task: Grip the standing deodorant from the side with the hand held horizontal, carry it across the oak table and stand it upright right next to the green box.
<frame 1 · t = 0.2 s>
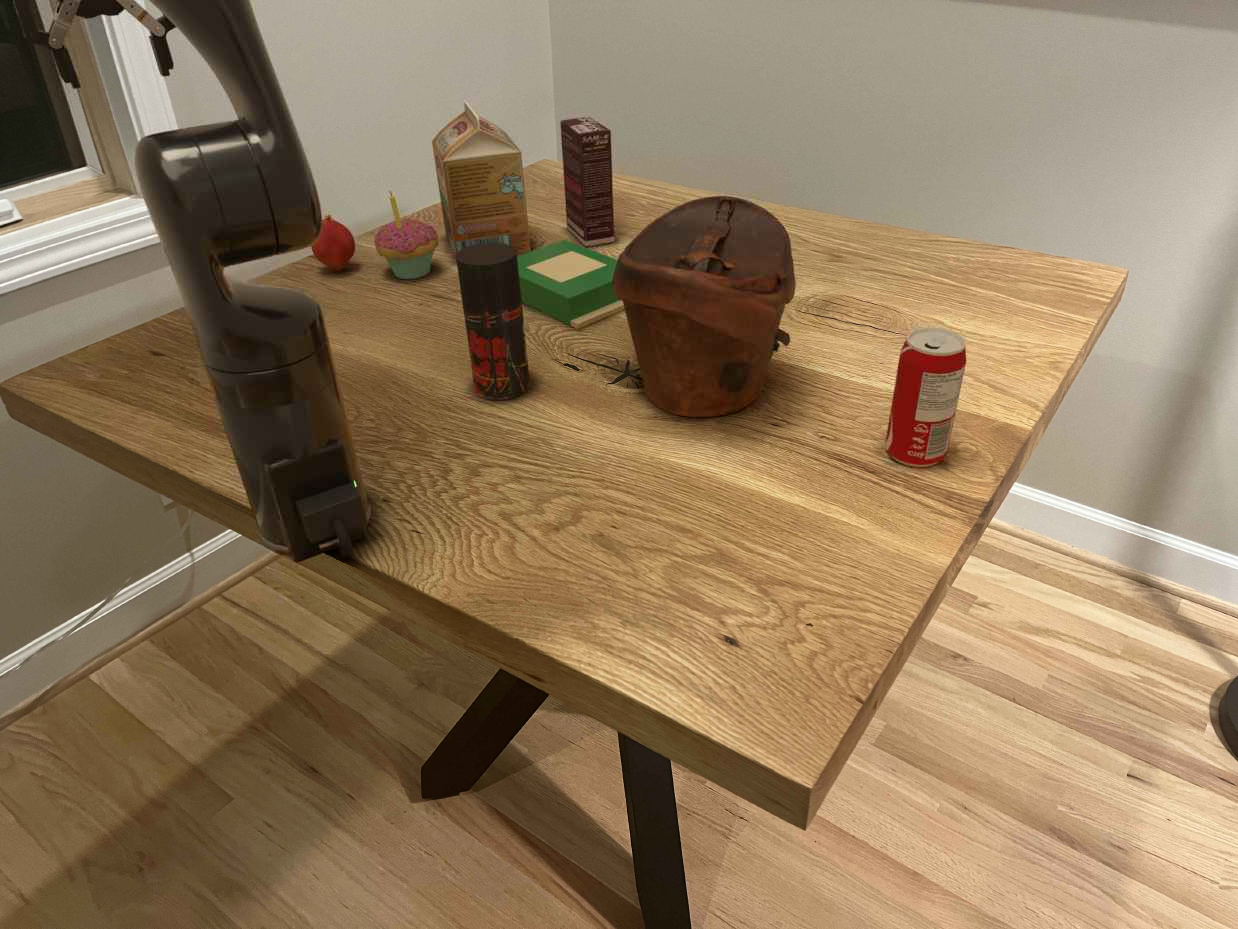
hand: (122, 81, 93), 29 cm above the table, tool pointing down, fingers open, 8 cm apart
case: (702, 391, 95), on the table
cupcake: (411, 273, 124), on the table
onion: (339, 271, 126), on the table
milk carton: (487, 246, 132), on the table
deodorant: (502, 388, 97), on the table
soda can: (914, 454, 84), on the table
supplement box: (590, 236, 133), on the table
green box: (568, 293, 117), on the table
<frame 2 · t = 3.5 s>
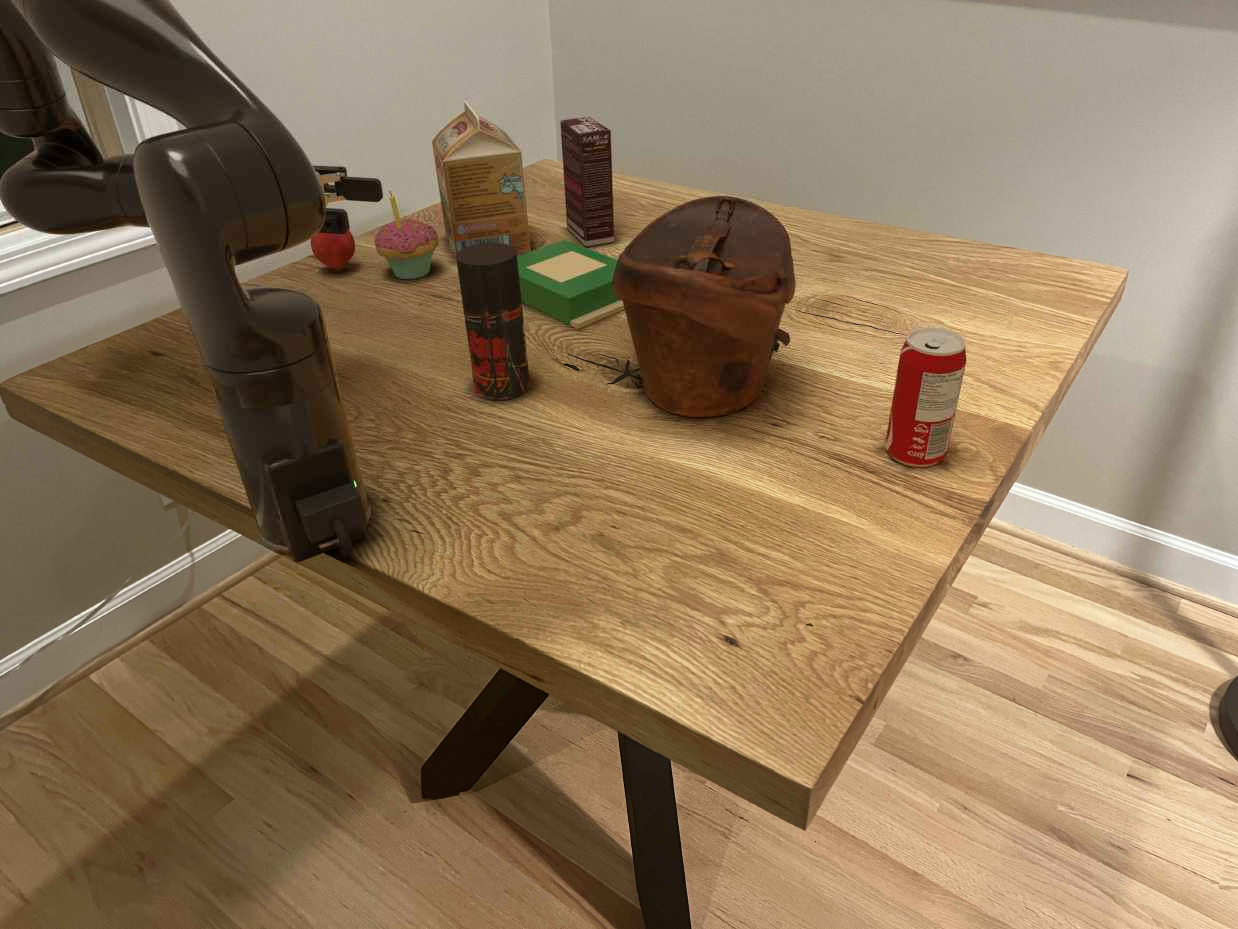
hand: (364, 205, 87), 20 cm above the table, tool horizontal, fingers open, 8 cm apart
nothing on the table moved.
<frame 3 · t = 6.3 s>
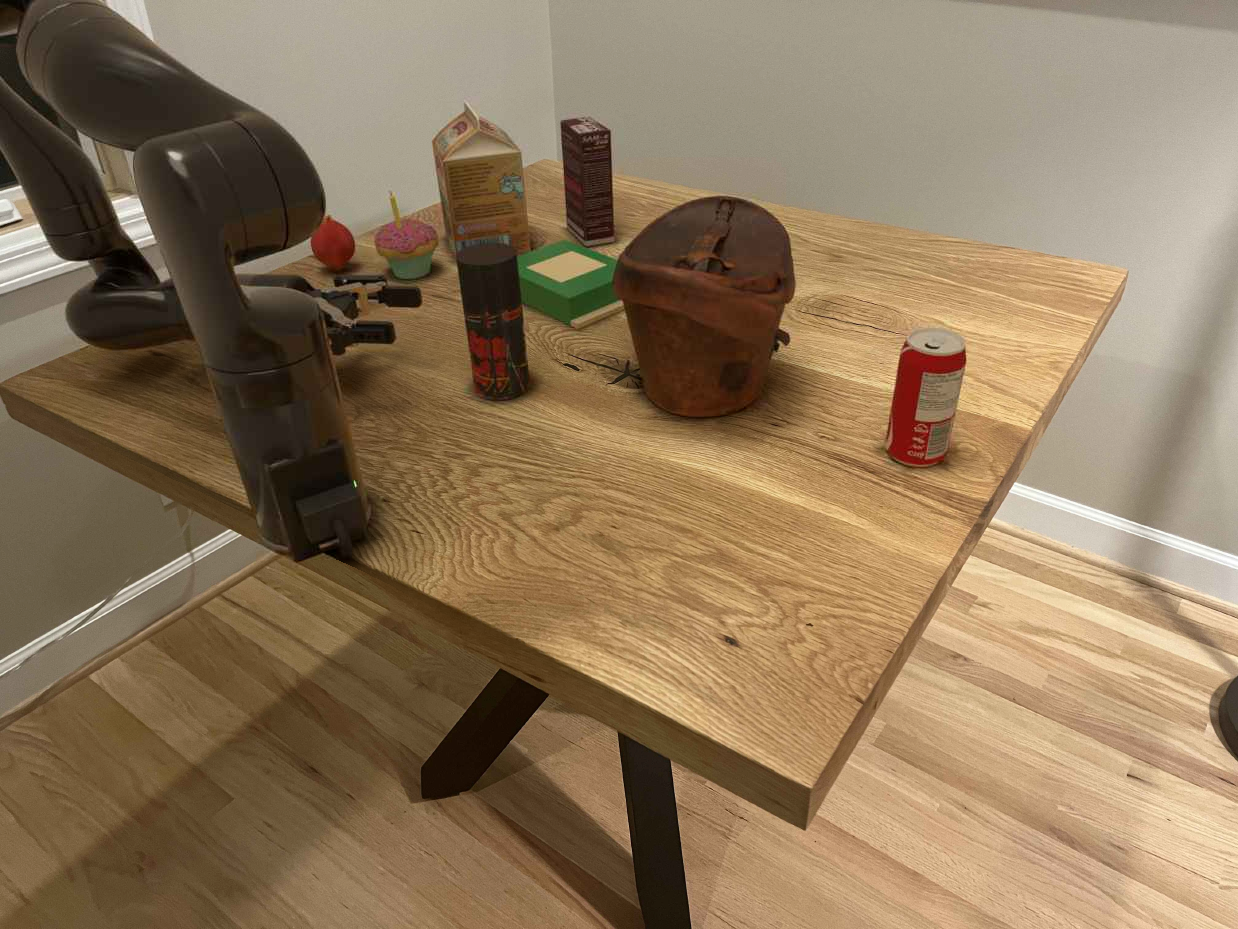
hand: (407, 314, 93), 8 cm above the table, tool horizontal, fingers open, 8 cm apart
nothing on the table moved.
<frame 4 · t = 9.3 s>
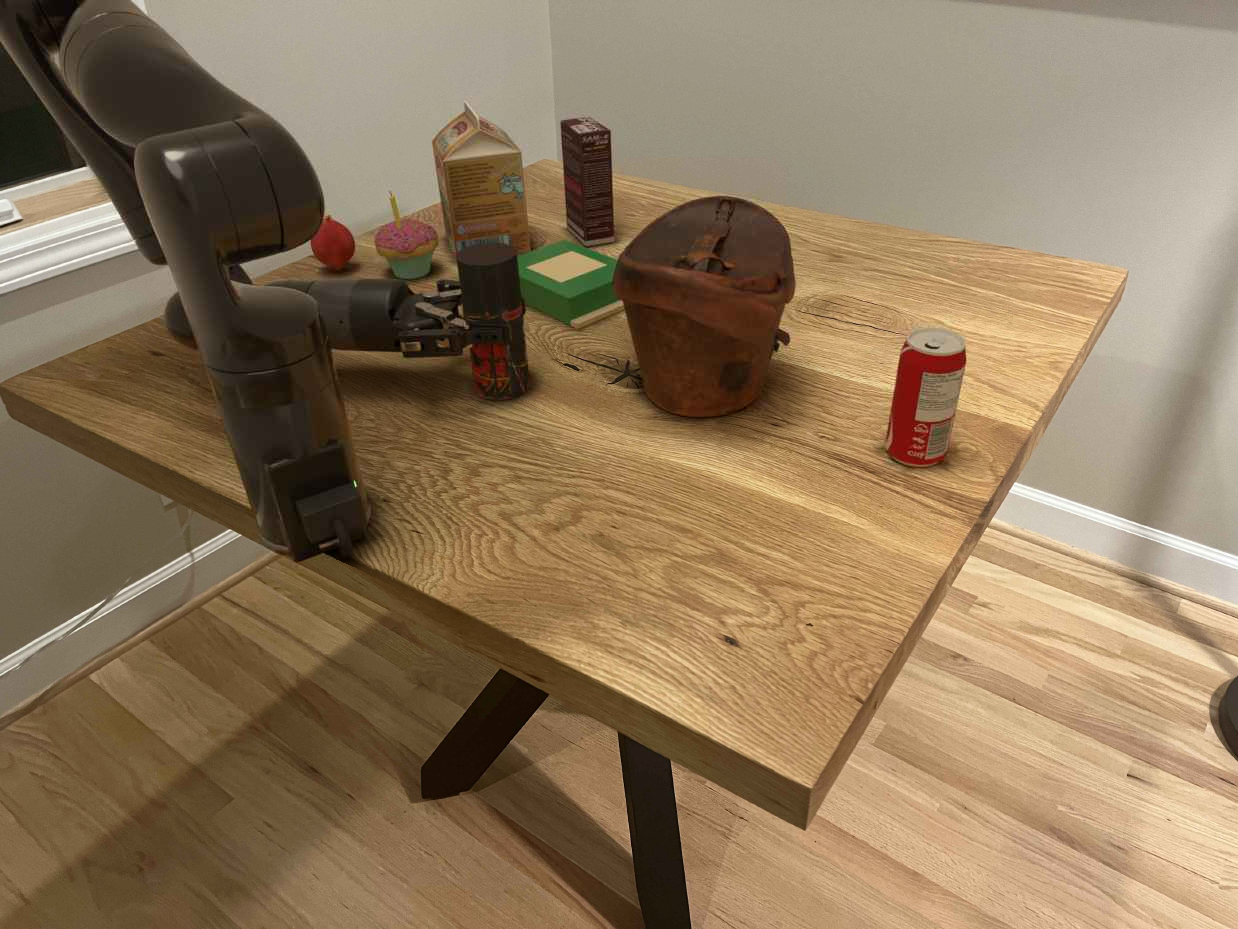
hand: (517, 319, 92), 8 cm above the table, tool horizontal, fingers closed on deodorant, 6 cm apart
deodorant: (502, 388, 97), on the table, touching gripper
everything else where it was.
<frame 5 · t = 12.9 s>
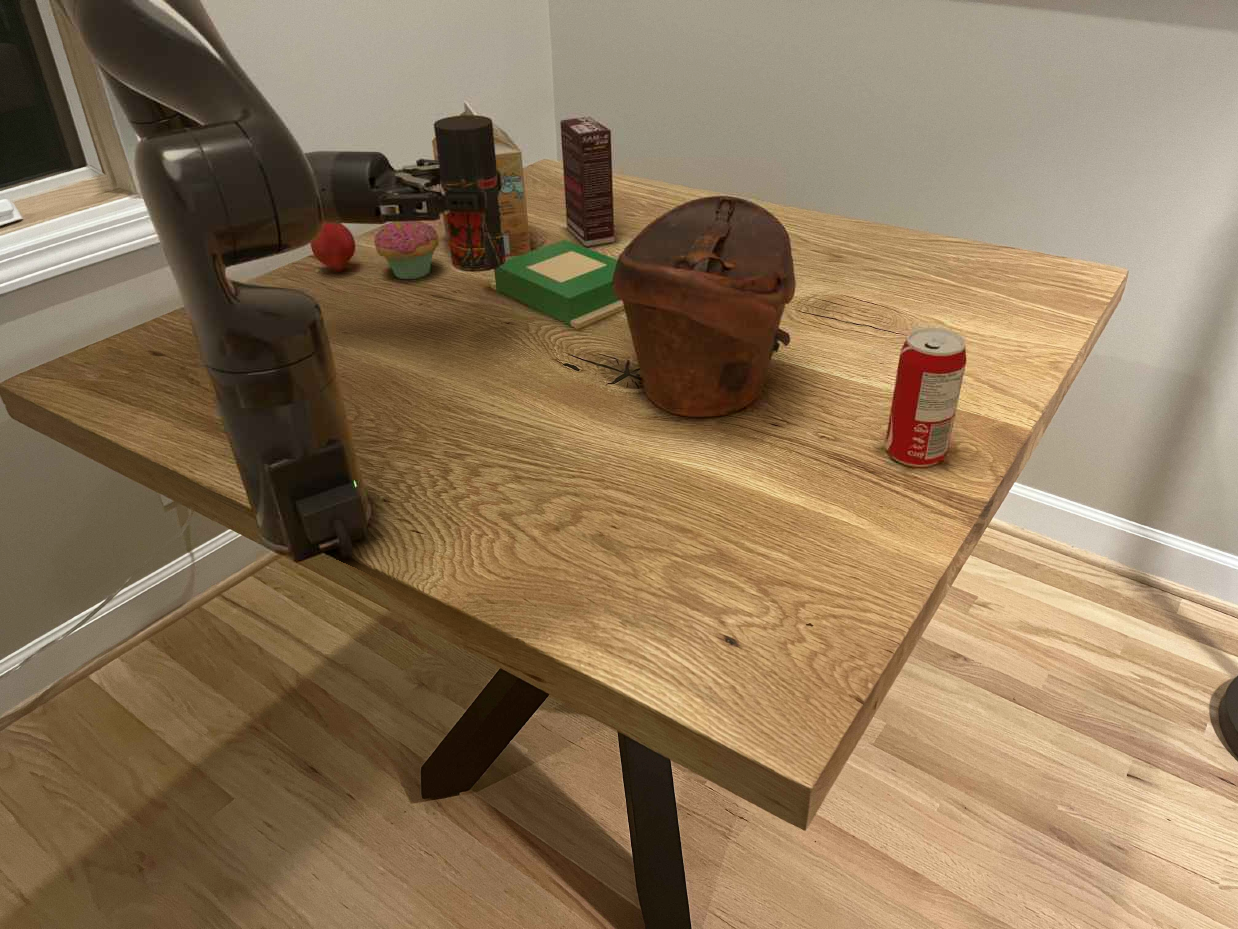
hand: (493, 190, 96), 18 cm above the table, tool horizontal, fingers closed on deodorant, 6 cm apart
deodorant: (479, 263, 101), point 9 cm above the table, touching gripper
everything else where it was.
when the fingers open (8 cm above the table, at t = 16.5 s): deodorant stays where it is, on the table.
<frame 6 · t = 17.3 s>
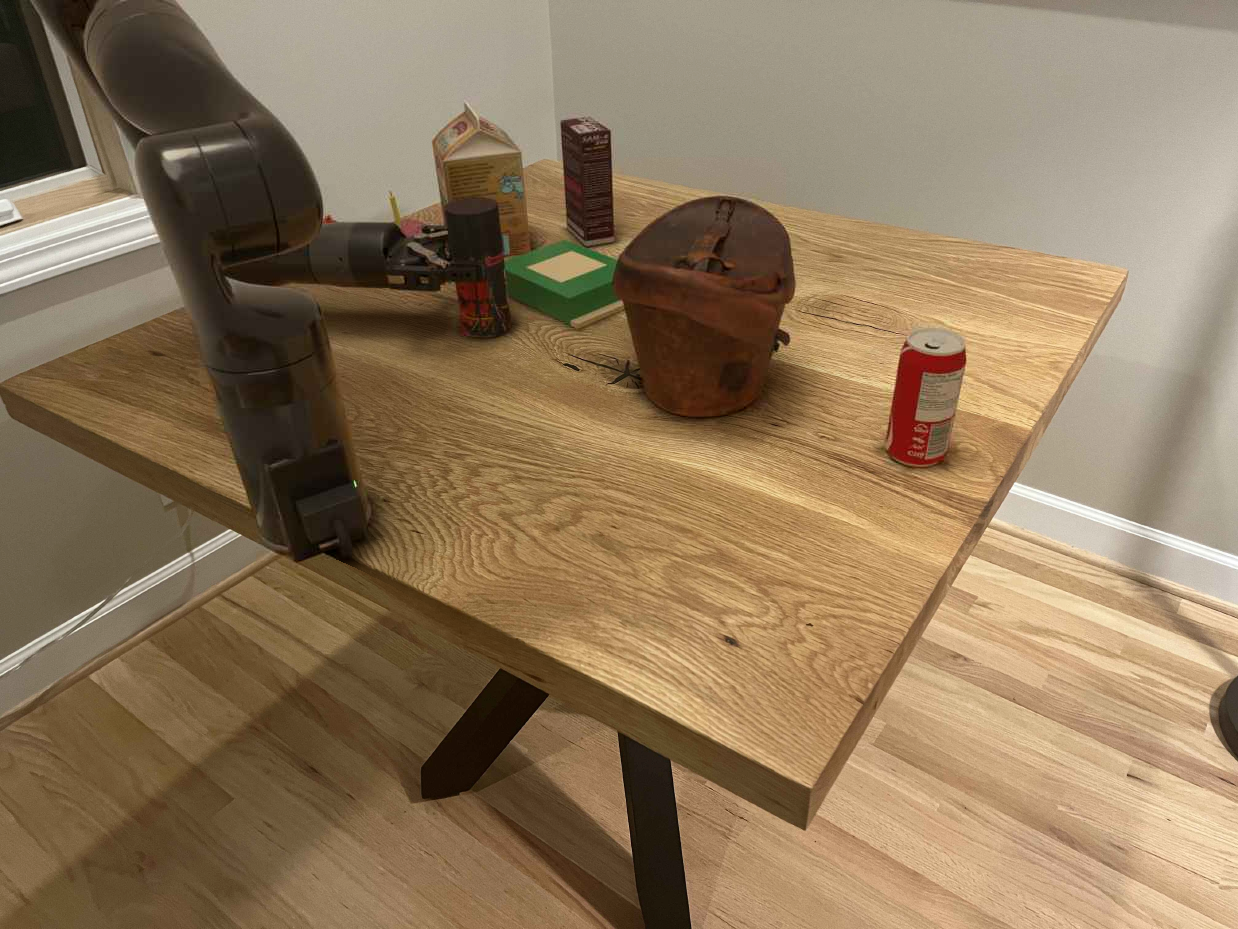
hand: (493, 257, 104), 9 cm above the table, tool horizontal, fingers open, 8 cm apart
deodorant: (487, 329, 109), on the table
everything else where it was.
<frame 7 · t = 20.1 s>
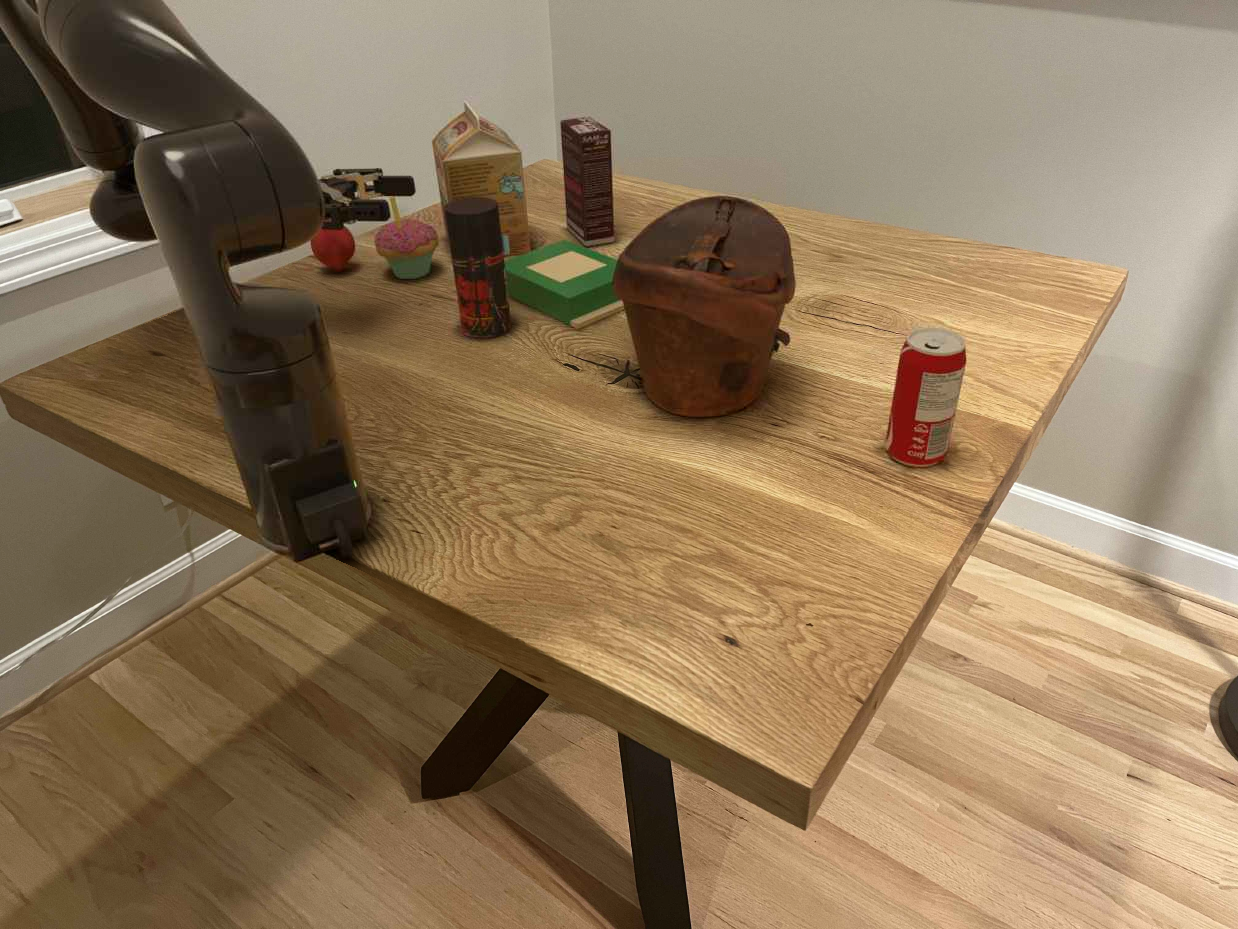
hand: (401, 197, 101), 16 cm above the table, tool horizontal, fingers open, 8 cm apart
nothing on the table moved.
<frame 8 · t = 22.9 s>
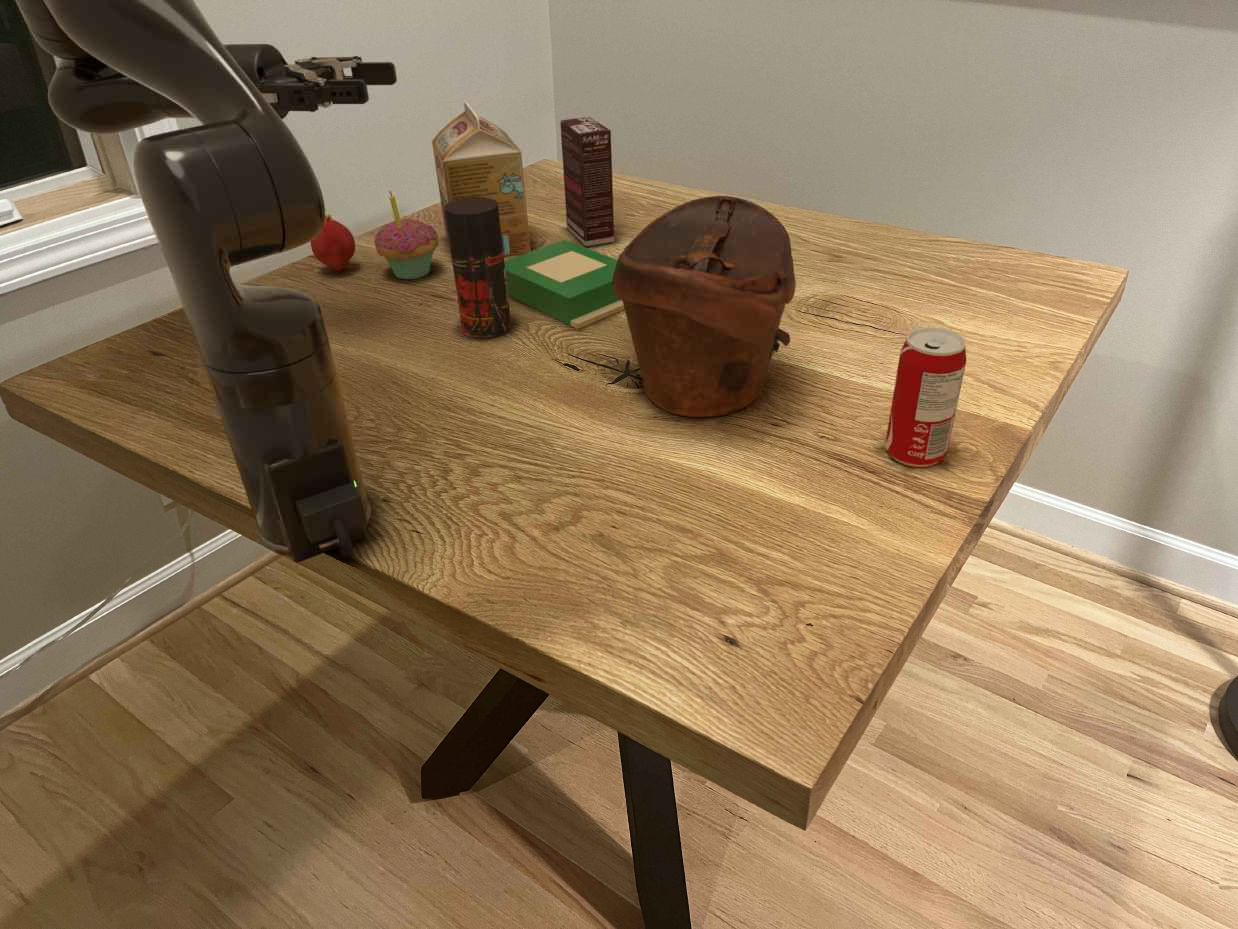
hand: (381, 82, 94), 28 cm above the table, tool horizontal, fingers open, 8 cm apart
nothing on the table moved.
at the end: deodorant 13.4 cm from the green box (horizontally); deodorant tilted 0°; the gripper is holding nothing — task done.
